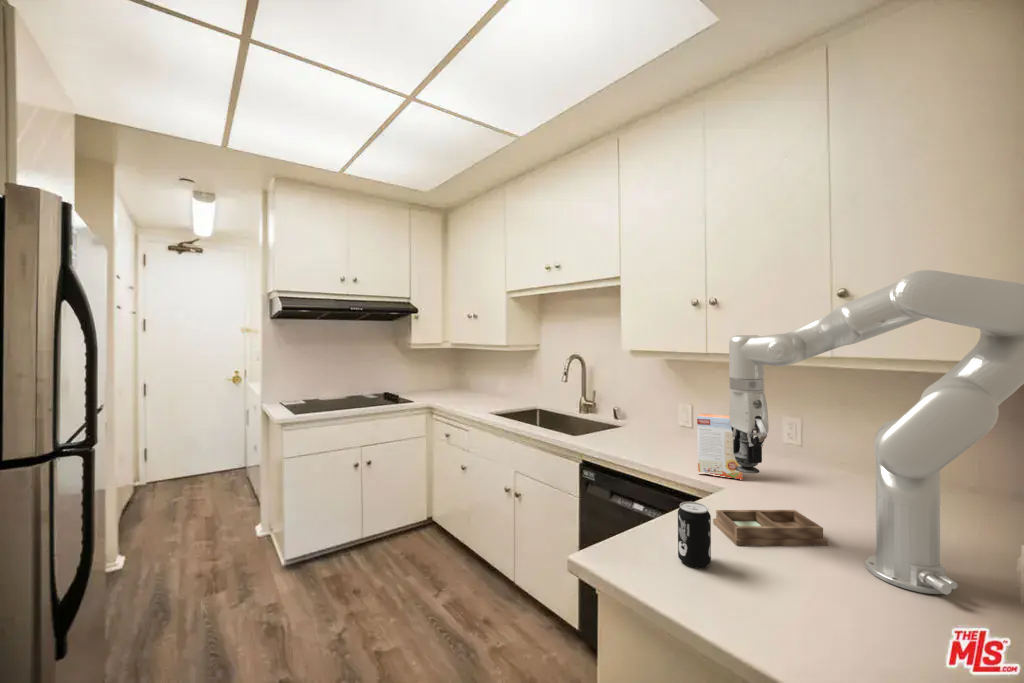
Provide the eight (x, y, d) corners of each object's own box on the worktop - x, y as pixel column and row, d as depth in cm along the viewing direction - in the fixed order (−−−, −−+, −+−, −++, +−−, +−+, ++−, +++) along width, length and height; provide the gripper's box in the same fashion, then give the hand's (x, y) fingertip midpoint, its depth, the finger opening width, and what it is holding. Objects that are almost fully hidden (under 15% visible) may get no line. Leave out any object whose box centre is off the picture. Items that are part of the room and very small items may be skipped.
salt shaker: (764, 474, 102) (764, 424, 102) (737, 473, 103) (737, 423, 103) (755, 467, 108) (755, 419, 107) (730, 465, 109) (730, 418, 109)
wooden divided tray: (794, 522, 111) (794, 508, 111) (827, 545, 99) (827, 529, 99) (713, 523, 112) (712, 508, 112) (736, 545, 100) (736, 529, 100)
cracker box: (743, 476, 148) (743, 415, 148) (742, 481, 143) (742, 418, 143) (700, 469, 155) (699, 412, 155) (697, 474, 150) (696, 415, 150)
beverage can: (708, 573, 88) (708, 515, 88) (675, 564, 92) (674, 508, 92) (712, 558, 94) (712, 504, 94) (681, 551, 97) (680, 498, 97)
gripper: (783, 389, 96) (784, 469, 97) (743, 381, 114) (744, 449, 114) (749, 389, 96) (750, 469, 97) (715, 381, 114) (715, 449, 114)
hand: (747, 457), depth 105 cm, fingers closed on salt shaker, 5 cm apart
